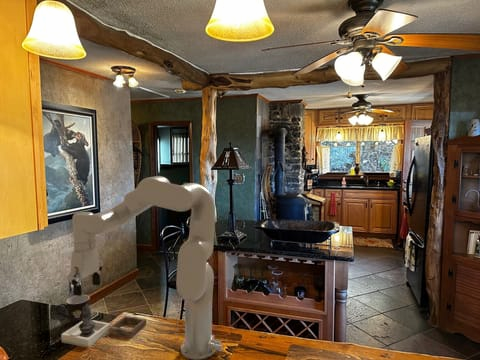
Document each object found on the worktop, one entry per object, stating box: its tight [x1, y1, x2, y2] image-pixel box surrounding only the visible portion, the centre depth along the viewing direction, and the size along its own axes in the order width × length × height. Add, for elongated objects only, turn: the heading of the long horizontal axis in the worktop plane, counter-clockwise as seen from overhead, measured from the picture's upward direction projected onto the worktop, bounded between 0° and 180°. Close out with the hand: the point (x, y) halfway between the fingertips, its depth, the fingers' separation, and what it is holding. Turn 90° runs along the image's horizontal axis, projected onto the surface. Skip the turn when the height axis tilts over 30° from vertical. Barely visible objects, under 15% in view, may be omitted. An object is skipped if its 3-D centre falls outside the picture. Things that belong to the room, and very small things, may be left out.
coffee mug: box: [55, 294, 91, 328], centre depth 134 cm, size 12×9×10 cm
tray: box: [60, 319, 112, 349], centre depth 124 cm, size 12×12×3 cm
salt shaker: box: [79, 303, 96, 337], centre depth 123 cm, size 6×6×12 cm
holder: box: [108, 315, 147, 339], centre depth 129 cm, size 10×10×2 cm
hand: (87, 289), depth 122 cm, fingers open, 9 cm apart
